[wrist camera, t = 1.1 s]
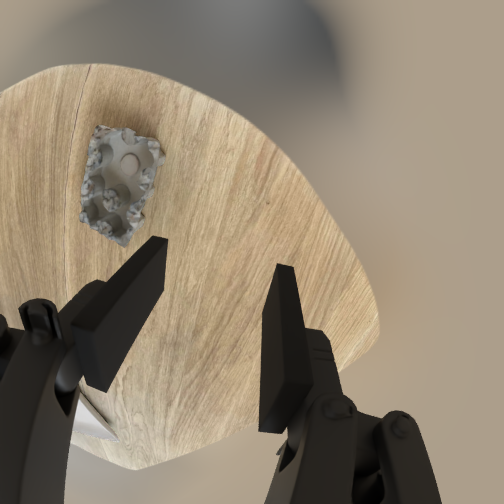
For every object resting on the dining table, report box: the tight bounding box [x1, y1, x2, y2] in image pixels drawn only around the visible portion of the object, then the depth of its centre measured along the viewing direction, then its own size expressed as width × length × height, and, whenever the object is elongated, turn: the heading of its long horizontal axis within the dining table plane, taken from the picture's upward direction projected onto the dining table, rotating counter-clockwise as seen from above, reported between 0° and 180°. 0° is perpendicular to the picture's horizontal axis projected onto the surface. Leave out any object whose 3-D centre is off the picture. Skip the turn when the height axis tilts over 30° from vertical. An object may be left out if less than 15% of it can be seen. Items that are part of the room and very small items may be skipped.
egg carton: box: [79, 125, 166, 248], centre depth 24 cm, size 11×8×4 cm
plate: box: [72, 392, 120, 442], centre depth 42 cm, size 21×21×3 cm
